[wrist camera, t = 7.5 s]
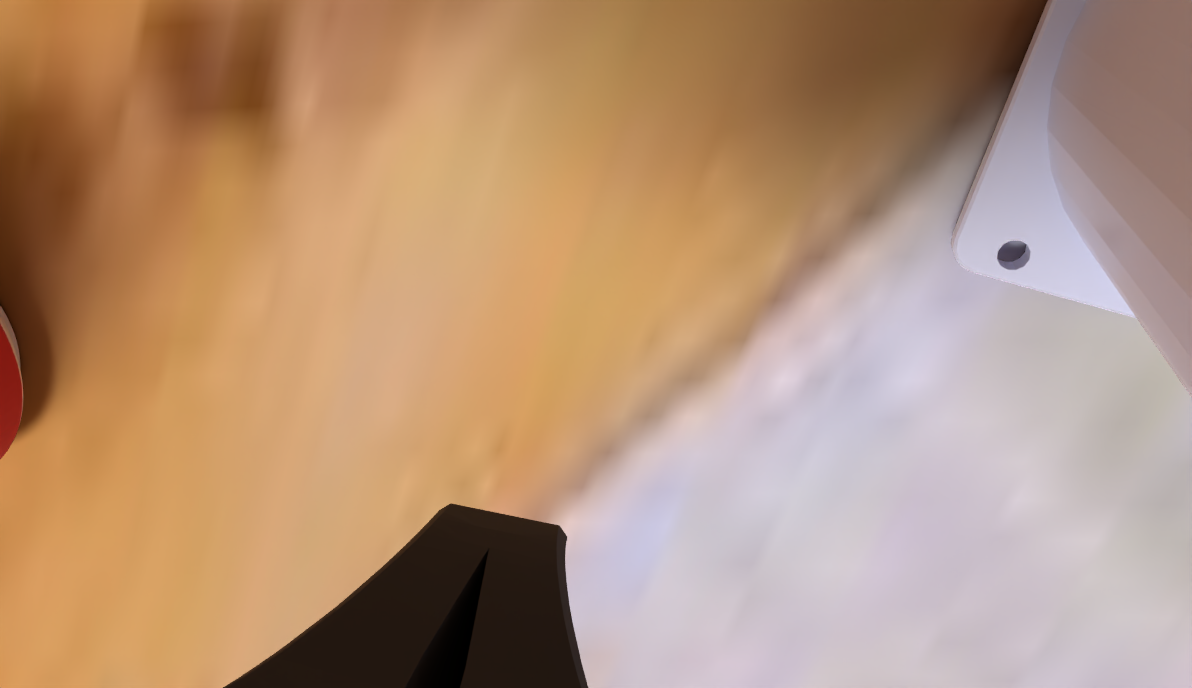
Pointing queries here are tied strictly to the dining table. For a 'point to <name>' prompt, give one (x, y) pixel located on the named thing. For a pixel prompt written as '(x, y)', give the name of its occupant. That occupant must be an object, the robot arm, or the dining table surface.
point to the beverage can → (9, 385)
